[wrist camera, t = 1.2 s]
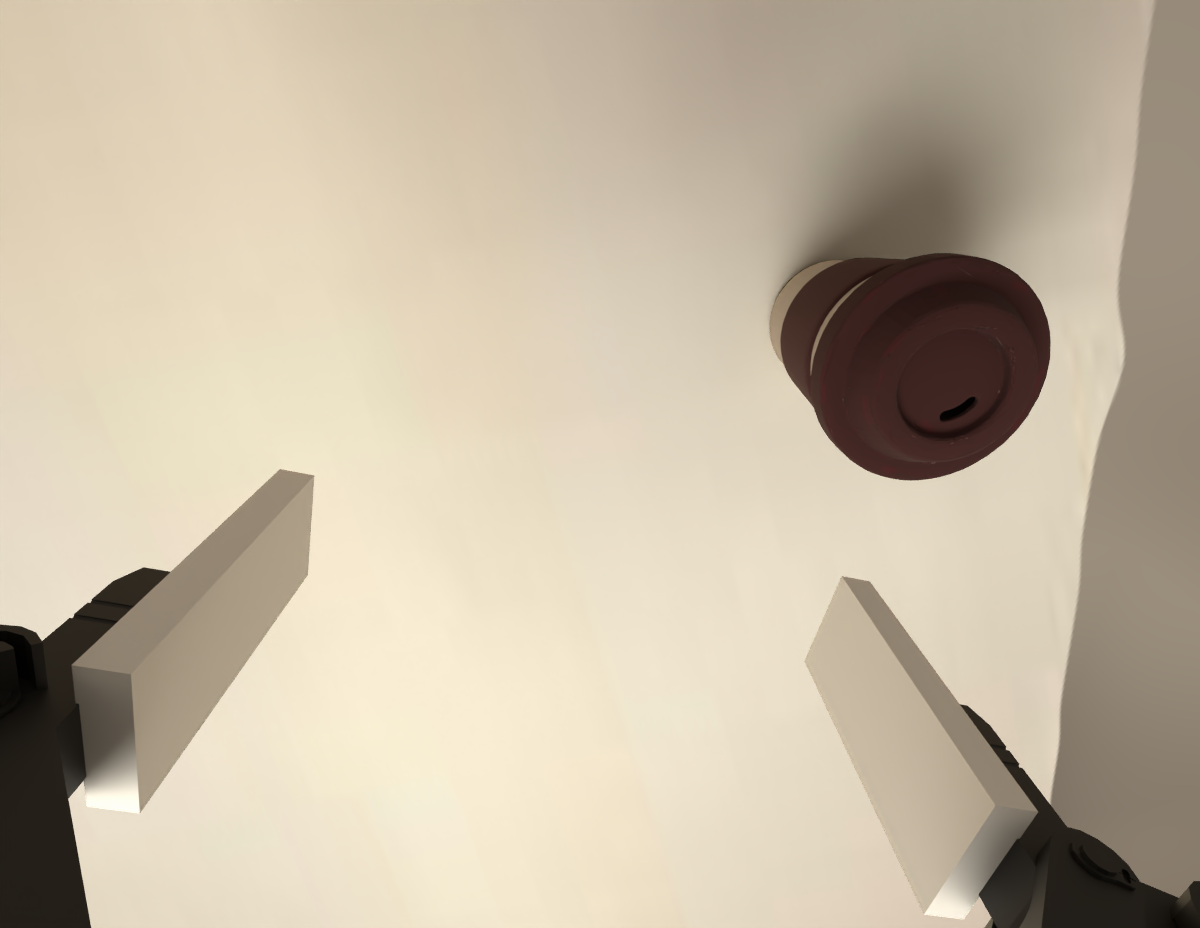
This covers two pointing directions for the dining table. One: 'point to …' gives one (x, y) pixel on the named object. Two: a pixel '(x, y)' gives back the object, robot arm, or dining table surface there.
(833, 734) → the dining table surface
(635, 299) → the dining table surface
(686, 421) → the dining table surface
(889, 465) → the coffee cup
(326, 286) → the dining table surface
